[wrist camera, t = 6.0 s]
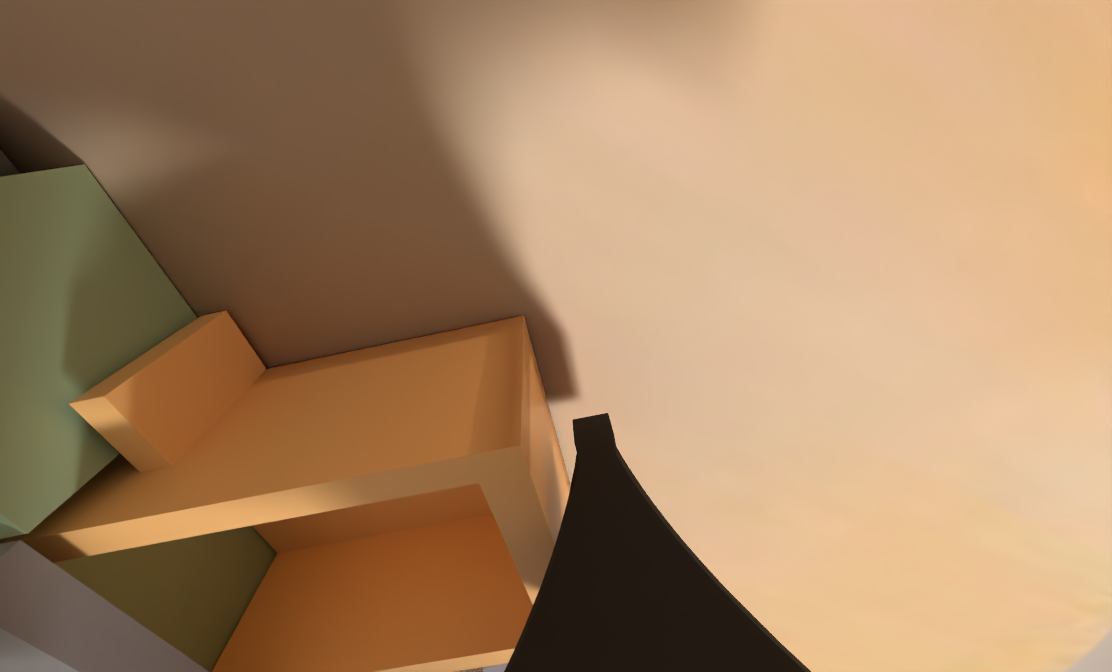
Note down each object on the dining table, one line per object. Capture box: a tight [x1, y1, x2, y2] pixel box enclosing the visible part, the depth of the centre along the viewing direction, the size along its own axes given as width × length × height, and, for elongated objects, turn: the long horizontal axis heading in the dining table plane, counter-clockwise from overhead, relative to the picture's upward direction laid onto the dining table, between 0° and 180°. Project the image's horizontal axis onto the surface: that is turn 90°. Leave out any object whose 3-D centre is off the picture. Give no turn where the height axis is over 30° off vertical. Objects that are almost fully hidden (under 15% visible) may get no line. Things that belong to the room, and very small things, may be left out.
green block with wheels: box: [0, 149, 277, 672], centre depth 9 cm, size 19×10×7 cm, turn 11°
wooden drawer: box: [0, 311, 571, 672], centre depth 10 cm, size 10×9×4 cm
